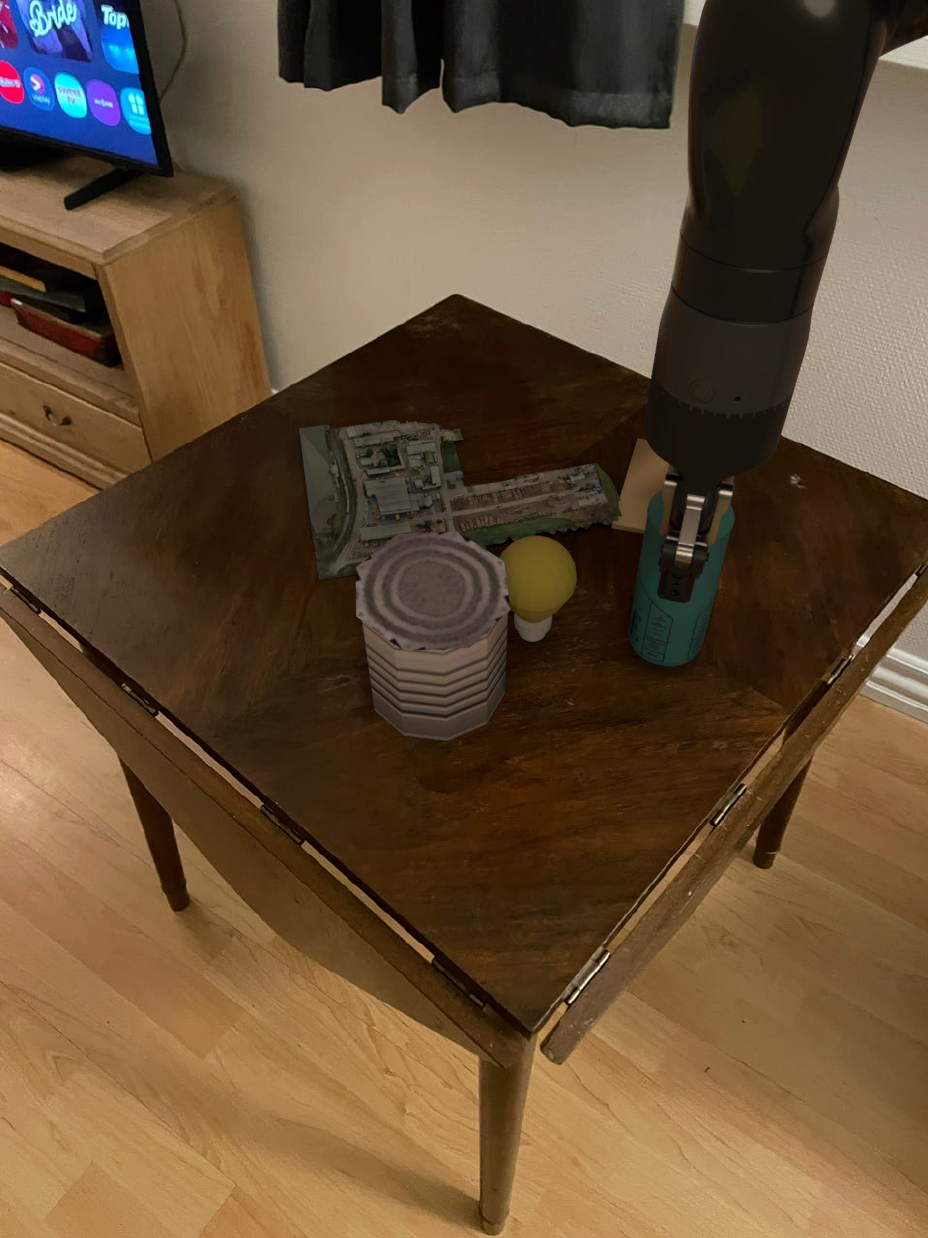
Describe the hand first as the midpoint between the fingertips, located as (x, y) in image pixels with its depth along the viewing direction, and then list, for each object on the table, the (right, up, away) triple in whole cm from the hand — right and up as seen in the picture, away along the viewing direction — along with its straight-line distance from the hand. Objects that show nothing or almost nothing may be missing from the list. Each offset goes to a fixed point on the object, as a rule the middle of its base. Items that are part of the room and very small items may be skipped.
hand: (674, 593), depth 62 cm
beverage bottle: (+3, -5, +17) cm, 17 cm away
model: (-15, +12, +31) cm, 37 cm away
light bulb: (-8, -3, +18) cm, 20 cm away
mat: (+7, +11, +30) cm, 33 cm away
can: (-16, -7, +14) cm, 23 cm away
